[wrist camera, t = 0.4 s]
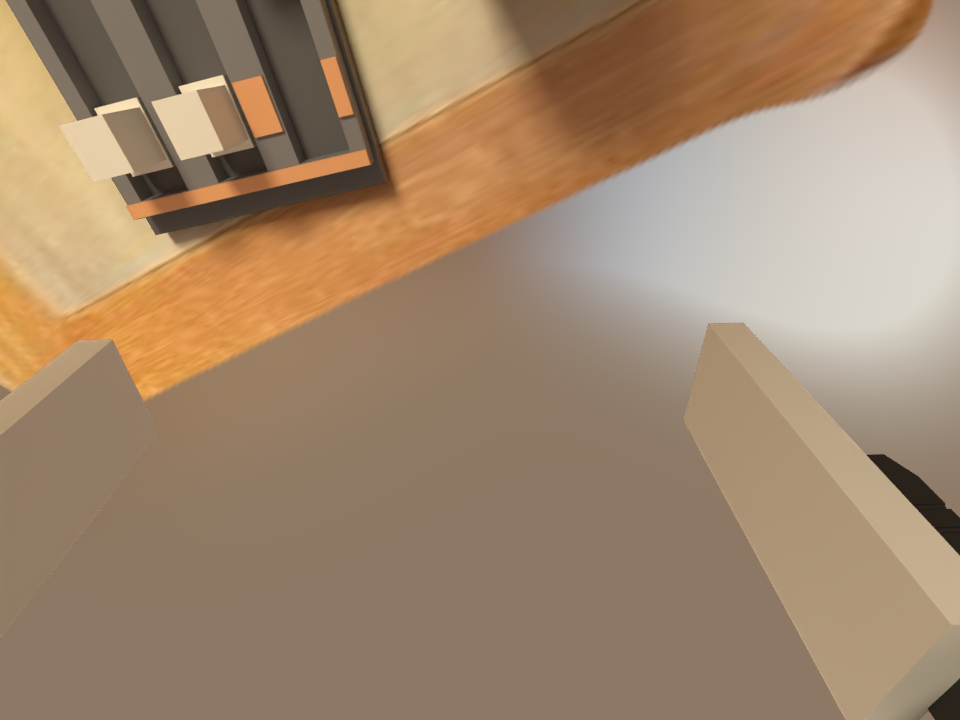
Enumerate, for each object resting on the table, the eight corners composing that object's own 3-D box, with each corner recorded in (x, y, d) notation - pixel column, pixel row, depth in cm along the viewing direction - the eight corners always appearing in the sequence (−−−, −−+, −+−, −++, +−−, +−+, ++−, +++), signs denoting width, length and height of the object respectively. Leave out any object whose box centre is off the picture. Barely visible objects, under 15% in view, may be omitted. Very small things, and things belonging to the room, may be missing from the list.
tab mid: (188, 84, 30) (143, 91, 26) (231, 73, 30) (192, 78, 26) (220, 153, 32) (184, 170, 28) (260, 144, 32) (229, 158, 28)
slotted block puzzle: (-80, -201, 24) (-139, -227, 22) (241, -312, 23) (214, -353, 20) (164, 229, 36) (143, 242, 34) (388, 178, 34) (382, 188, 32)
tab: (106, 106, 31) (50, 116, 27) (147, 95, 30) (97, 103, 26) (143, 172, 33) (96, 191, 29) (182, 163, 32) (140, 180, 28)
